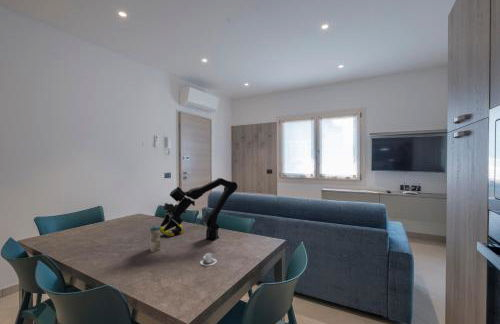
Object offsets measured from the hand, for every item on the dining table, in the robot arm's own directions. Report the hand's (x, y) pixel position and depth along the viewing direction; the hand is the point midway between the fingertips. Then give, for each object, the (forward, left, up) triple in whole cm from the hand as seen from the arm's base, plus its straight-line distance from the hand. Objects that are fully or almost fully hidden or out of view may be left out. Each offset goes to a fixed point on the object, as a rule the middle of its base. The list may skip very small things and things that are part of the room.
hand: (162, 228), depth 128 cm
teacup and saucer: (-34, +4, -12) cm, 36 cm away
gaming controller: (+10, -22, -11) cm, 27 cm away
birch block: (+3, +3, -11) cm, 12 cm away
